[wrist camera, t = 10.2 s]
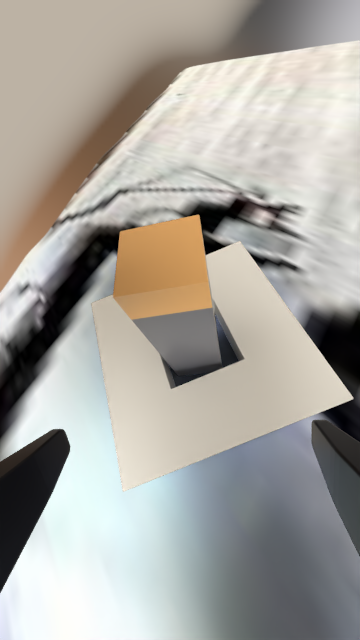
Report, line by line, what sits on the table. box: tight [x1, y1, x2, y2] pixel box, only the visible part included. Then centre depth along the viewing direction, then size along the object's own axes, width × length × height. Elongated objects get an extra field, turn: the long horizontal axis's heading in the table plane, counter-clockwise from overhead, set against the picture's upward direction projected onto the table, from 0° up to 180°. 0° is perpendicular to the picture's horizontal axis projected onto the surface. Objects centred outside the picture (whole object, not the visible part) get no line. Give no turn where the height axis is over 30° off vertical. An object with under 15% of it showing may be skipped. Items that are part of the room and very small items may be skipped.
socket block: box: [91, 241, 354, 492], centre depth 20 cm, size 16×16×3 cm
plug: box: [113, 215, 222, 376], centre depth 16 cm, size 4×4×13 cm
